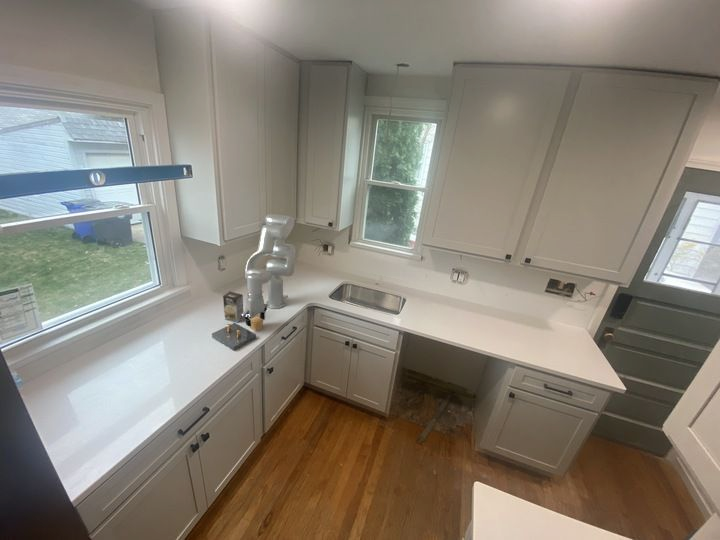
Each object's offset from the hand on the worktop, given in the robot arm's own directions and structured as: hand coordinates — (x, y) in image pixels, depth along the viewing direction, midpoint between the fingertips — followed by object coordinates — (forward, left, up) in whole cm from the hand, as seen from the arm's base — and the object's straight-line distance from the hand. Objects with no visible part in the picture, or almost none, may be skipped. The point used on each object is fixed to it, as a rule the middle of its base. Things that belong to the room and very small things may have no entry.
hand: (255, 322), depth 166 cm
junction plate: (+13, -1, -4) cm, 14 cm away
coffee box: (+1, -17, -4) cm, 18 cm away
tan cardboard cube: (-1, 0, -4) cm, 4 cm away
